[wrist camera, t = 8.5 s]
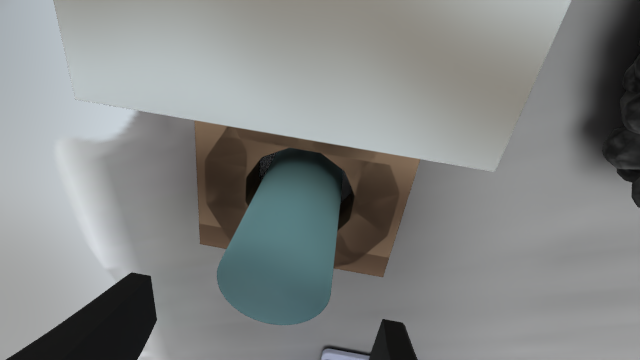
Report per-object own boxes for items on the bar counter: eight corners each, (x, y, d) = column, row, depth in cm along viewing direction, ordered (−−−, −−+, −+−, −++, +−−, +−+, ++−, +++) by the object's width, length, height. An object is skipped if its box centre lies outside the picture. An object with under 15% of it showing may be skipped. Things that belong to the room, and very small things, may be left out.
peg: (332, 214, 20) (316, 335, 13) (264, 196, 20) (212, 309, 13) (351, 153, 18) (344, 258, 11) (276, 133, 18) (222, 227, 11)
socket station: (378, 254, 21) (387, 412, 13) (216, 225, 21) (133, 363, 14) (469, -53, 13) (615, -101, 6) (212, -93, 14) (11, -193, 6)
